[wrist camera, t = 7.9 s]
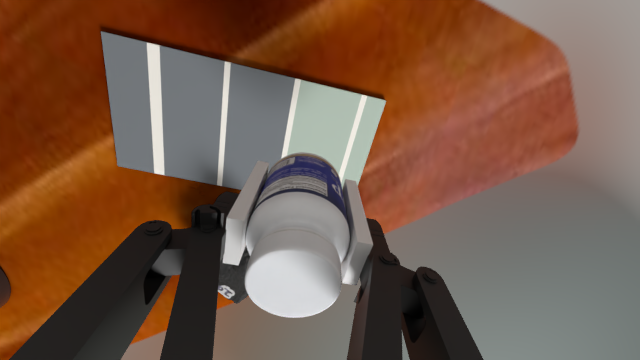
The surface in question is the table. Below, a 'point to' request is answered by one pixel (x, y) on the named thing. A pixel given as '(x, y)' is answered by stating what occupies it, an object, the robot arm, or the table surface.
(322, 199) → the pill bottle
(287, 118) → the lane
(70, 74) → the table surface
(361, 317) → the robot arm
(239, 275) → the rock
